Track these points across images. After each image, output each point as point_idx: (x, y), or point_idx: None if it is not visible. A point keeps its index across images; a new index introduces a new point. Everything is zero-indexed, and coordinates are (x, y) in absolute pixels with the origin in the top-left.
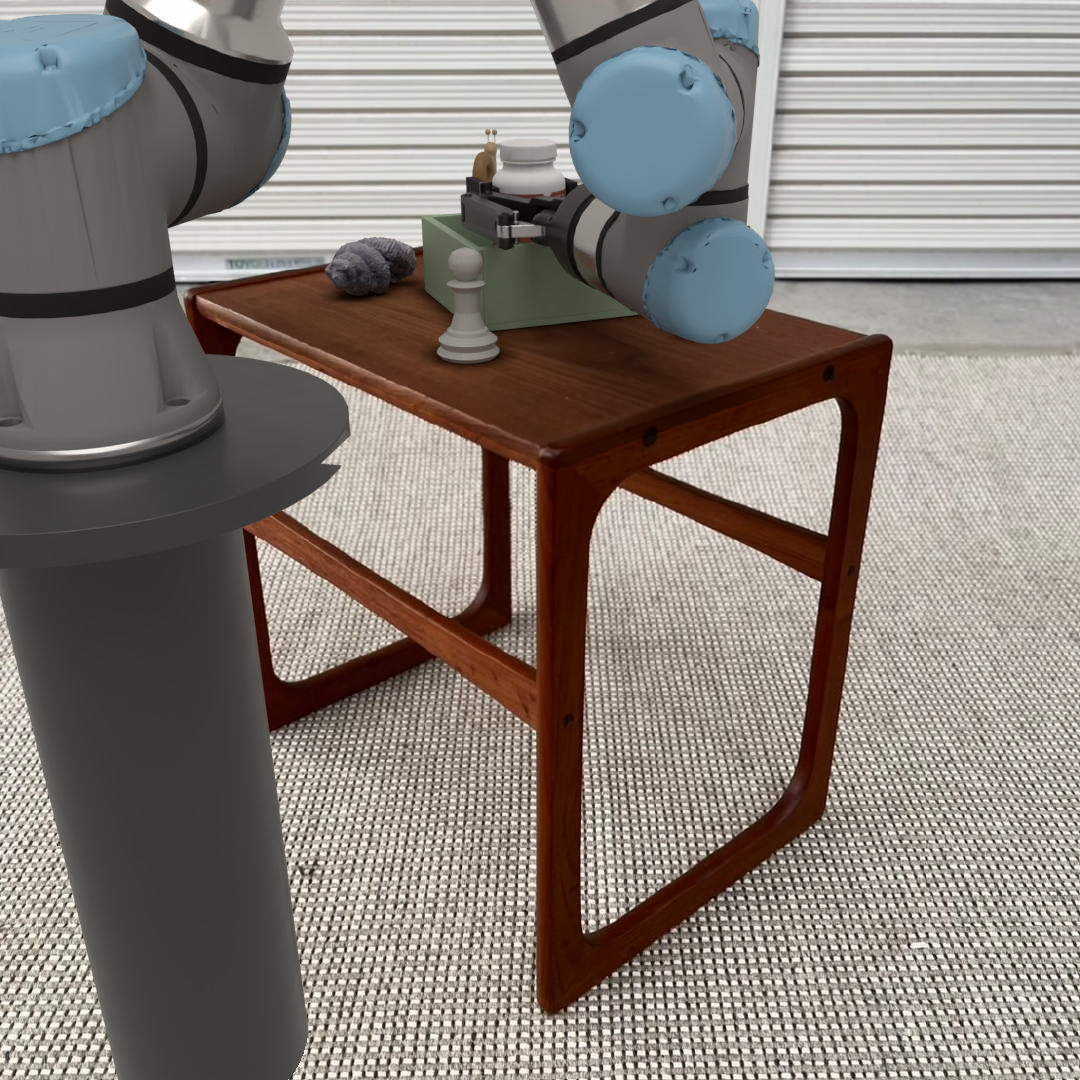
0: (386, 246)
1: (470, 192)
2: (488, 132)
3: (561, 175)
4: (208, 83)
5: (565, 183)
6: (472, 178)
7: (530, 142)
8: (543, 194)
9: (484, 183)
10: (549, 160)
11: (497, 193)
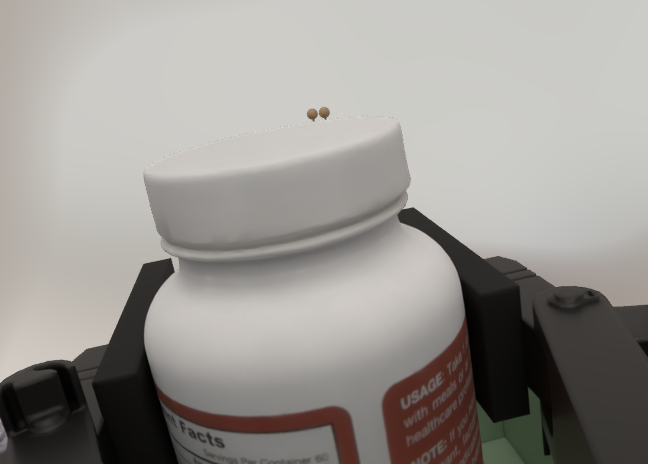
0: (3, 440)
1: (90, 353)
2: (312, 114)
3: (439, 273)
4: None
5: (464, 288)
6: (148, 273)
7: (278, 142)
8: (341, 408)
9: (21, 386)
10: (364, 221)
11: (75, 444)
